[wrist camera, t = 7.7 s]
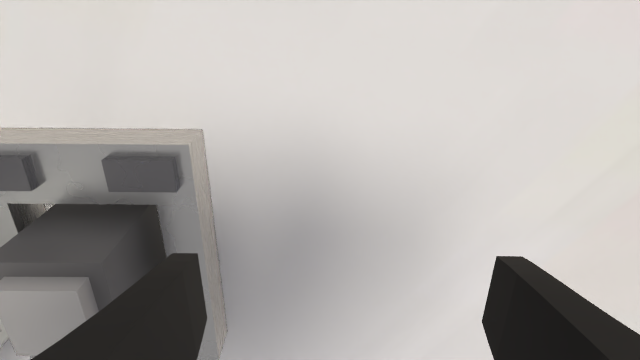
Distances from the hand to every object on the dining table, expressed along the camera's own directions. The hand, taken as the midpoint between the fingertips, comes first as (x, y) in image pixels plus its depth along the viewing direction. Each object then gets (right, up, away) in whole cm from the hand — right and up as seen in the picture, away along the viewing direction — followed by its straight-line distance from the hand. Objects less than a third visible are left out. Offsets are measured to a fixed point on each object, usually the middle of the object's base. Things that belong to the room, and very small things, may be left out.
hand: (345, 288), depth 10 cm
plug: (-11, 0, +11) cm, 15 cm away
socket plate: (-11, 0, +11) cm, 15 cm away
